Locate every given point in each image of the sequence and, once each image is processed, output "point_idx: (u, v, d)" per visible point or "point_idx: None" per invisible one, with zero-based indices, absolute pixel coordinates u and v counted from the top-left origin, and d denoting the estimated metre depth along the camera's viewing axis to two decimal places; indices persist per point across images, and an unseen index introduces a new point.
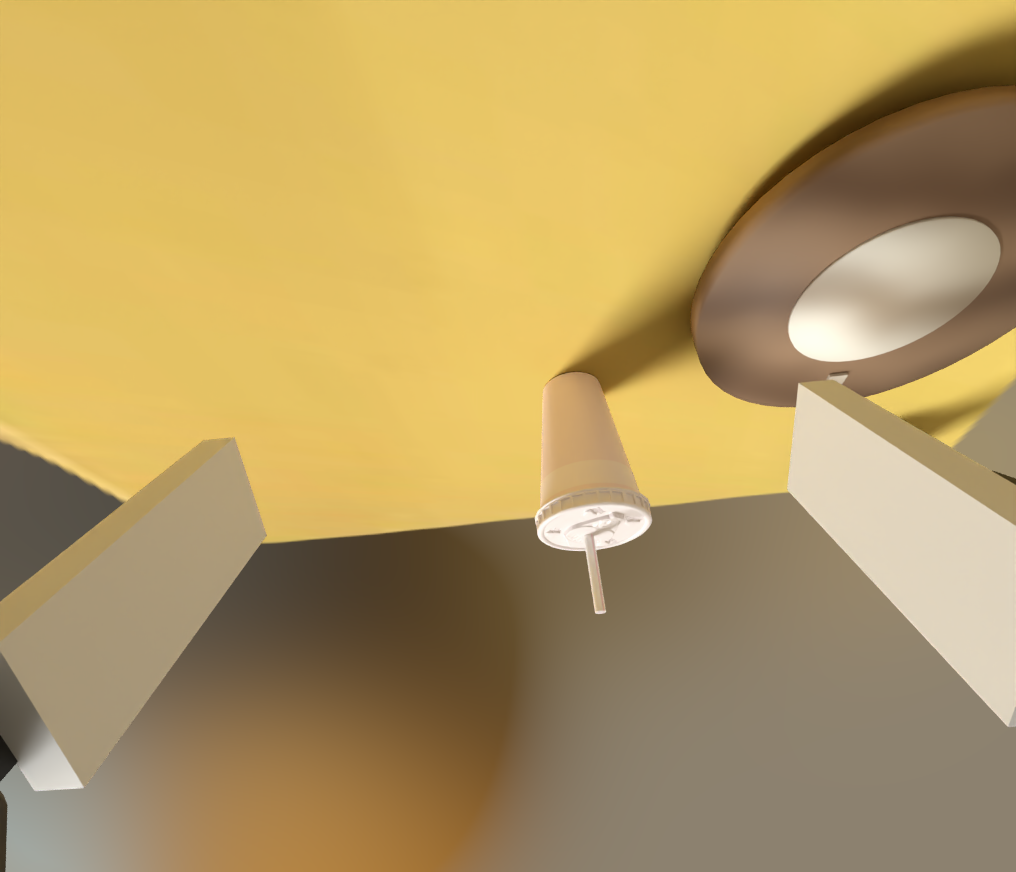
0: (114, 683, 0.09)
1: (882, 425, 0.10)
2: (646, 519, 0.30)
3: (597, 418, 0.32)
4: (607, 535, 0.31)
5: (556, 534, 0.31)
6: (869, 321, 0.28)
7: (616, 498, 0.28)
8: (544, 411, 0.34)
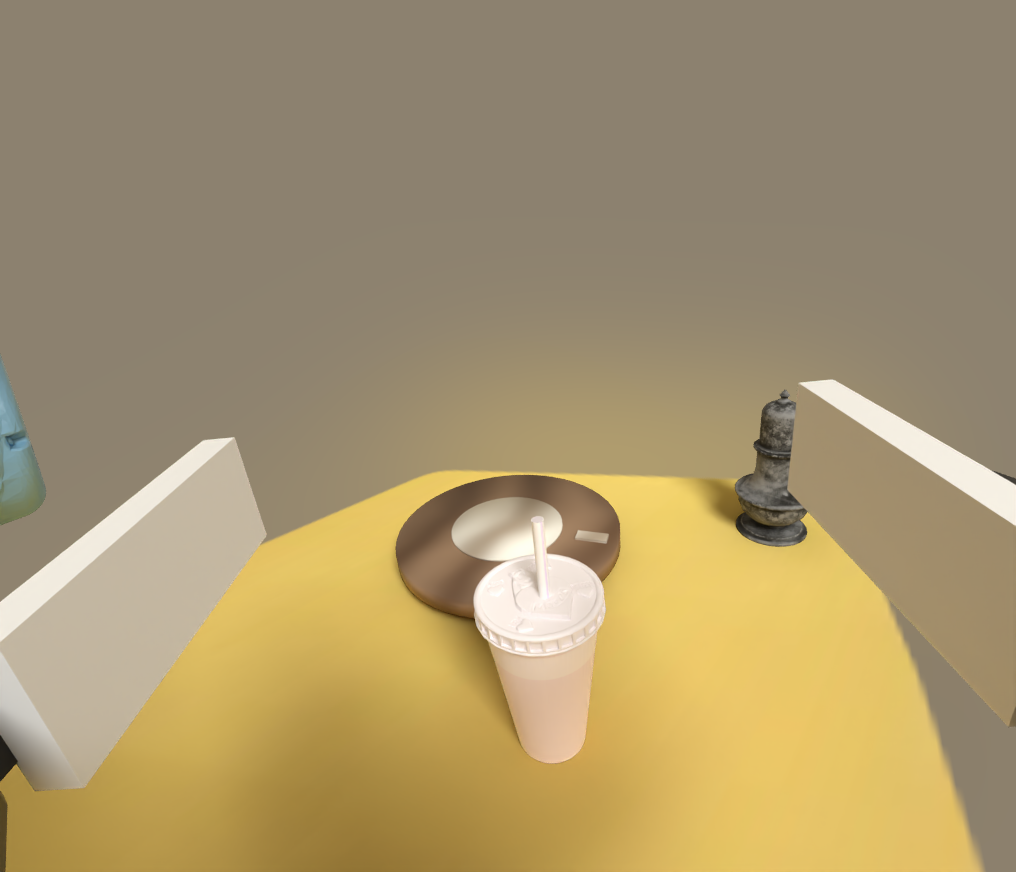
0: (114, 683, 0.09)
1: (882, 425, 0.10)
2: None
3: None
4: (554, 581, 0.27)
5: (525, 621, 0.25)
6: (521, 529, 0.44)
7: None
8: (524, 733, 0.29)
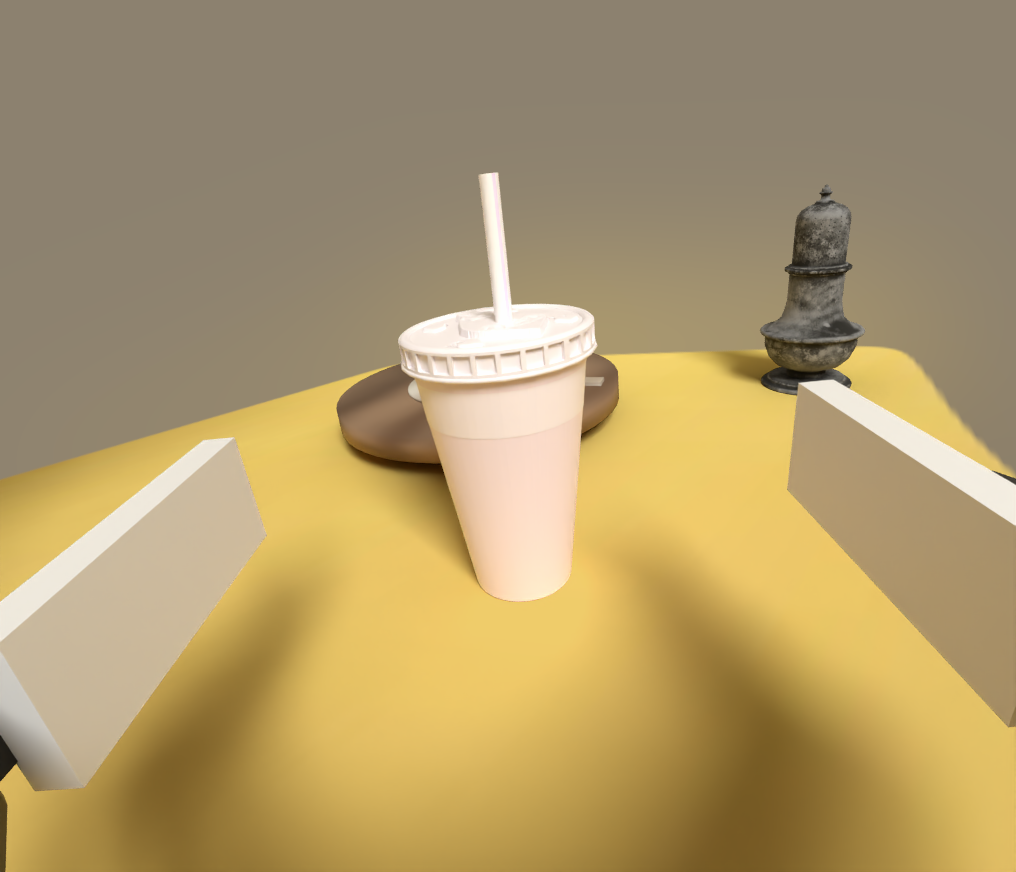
0: (114, 683, 0.09)
1: (882, 425, 0.10)
2: None
3: None
4: (520, 313, 0.18)
5: (471, 339, 0.16)
6: None
7: None
8: (480, 554, 0.20)
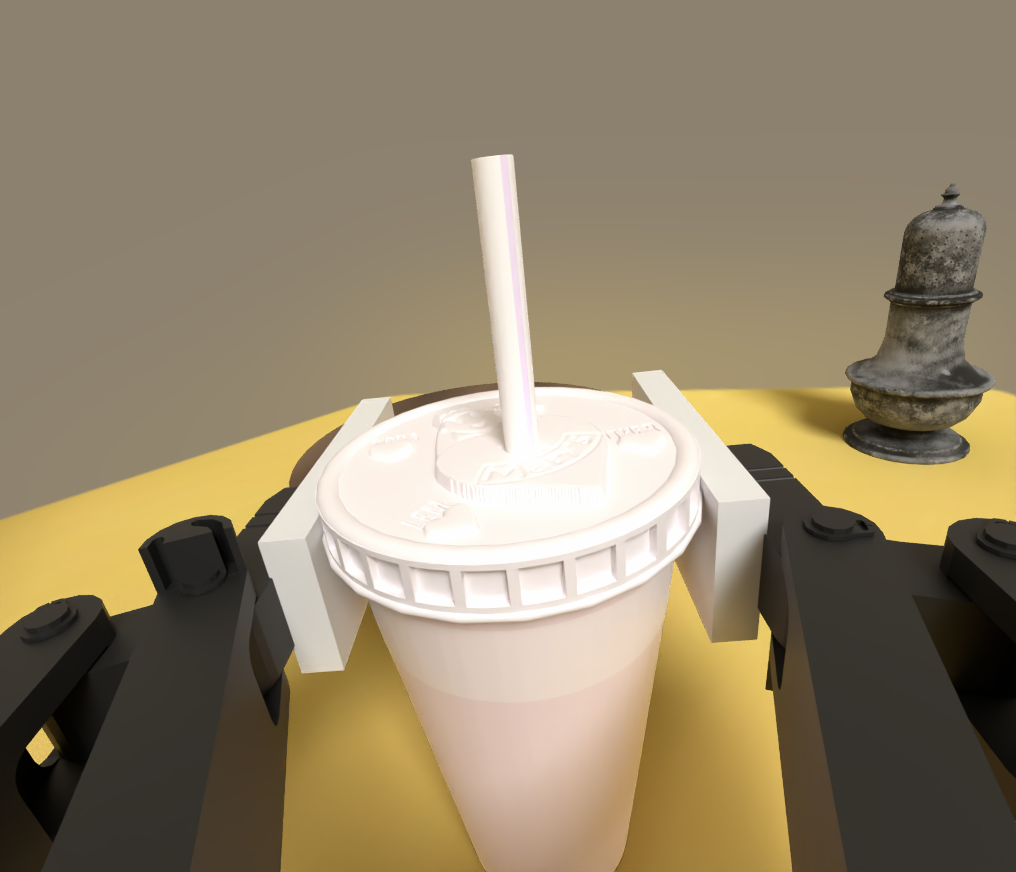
0: (351, 589, 0.10)
1: (669, 406, 0.12)
2: None
3: None
4: (551, 422, 0.10)
5: (456, 510, 0.08)
6: None
7: None
8: (475, 834, 0.11)
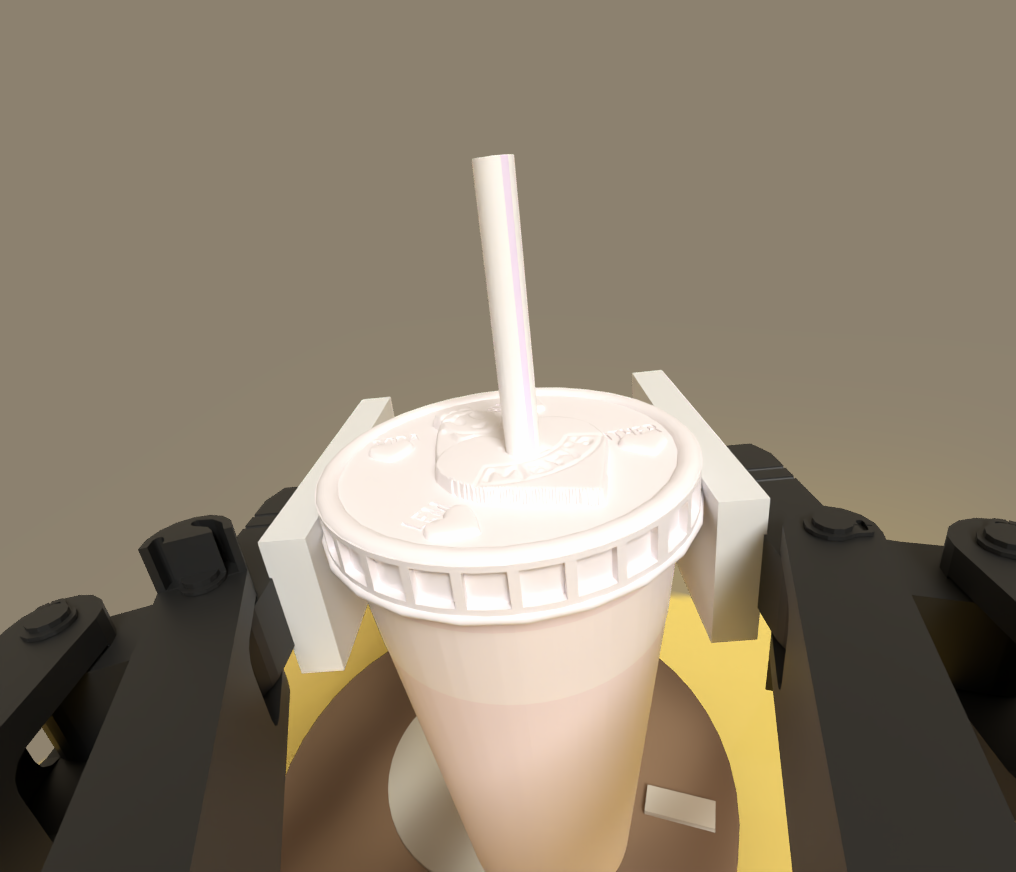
0: None
1: (669, 406, 0.12)
2: None
3: None
4: (551, 423, 0.10)
5: (457, 511, 0.08)
6: None
7: None
8: (476, 836, 0.11)
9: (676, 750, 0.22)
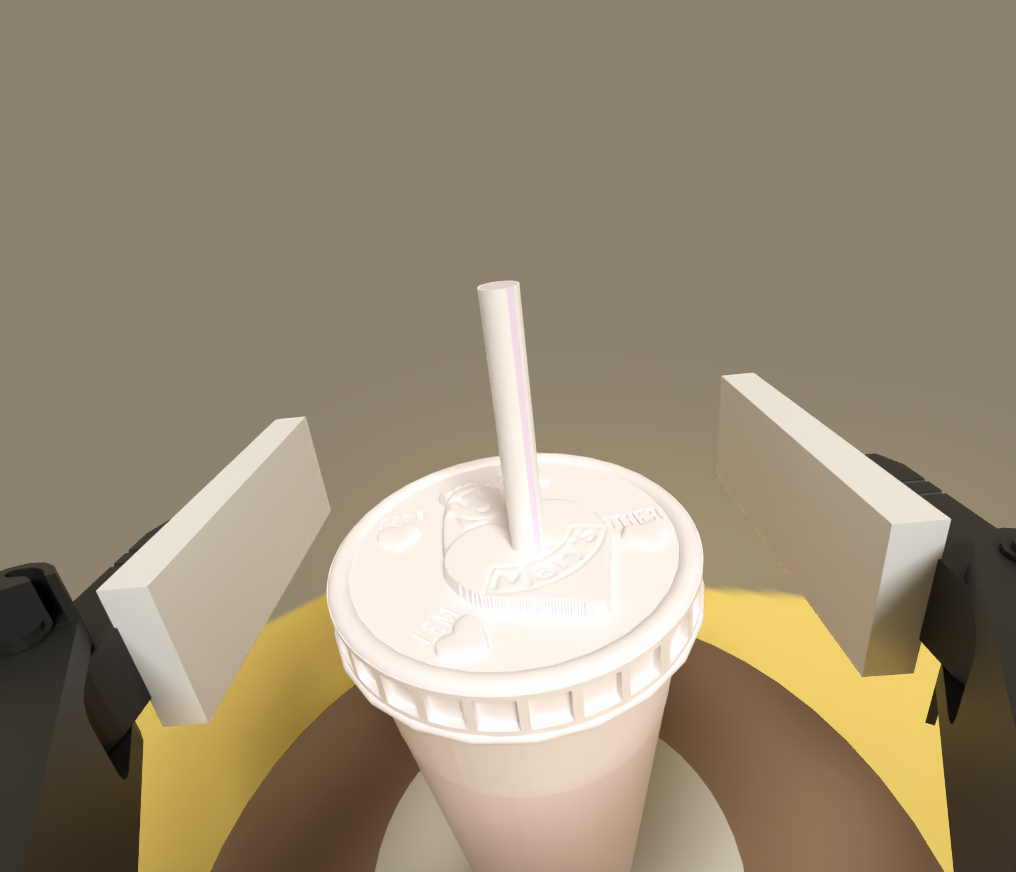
0: (226, 632, 0.10)
1: (781, 413, 0.11)
2: None
3: None
4: (556, 509, 0.10)
5: (466, 624, 0.08)
6: None
7: None
8: None
9: (847, 848, 0.13)
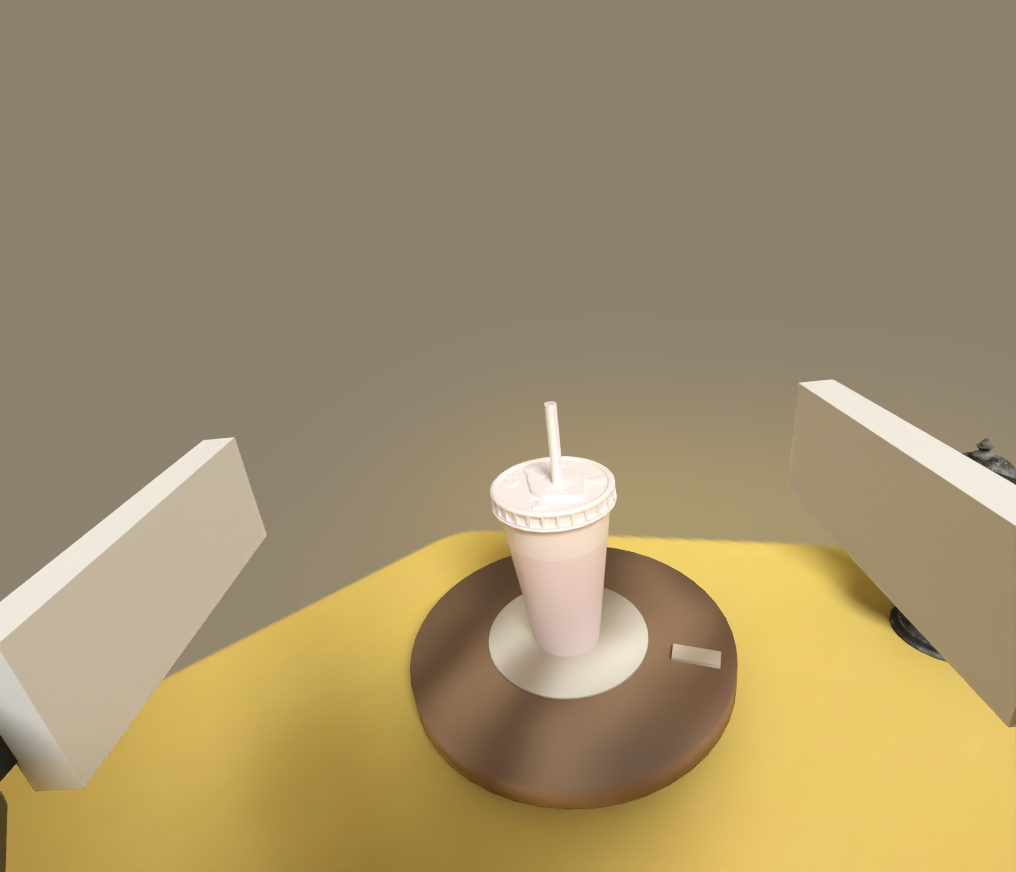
0: (114, 683, 0.09)
1: (882, 425, 0.10)
2: None
3: None
4: (567, 473, 0.28)
5: (540, 502, 0.26)
6: None
7: None
8: (540, 625, 0.30)
9: (694, 625, 0.31)
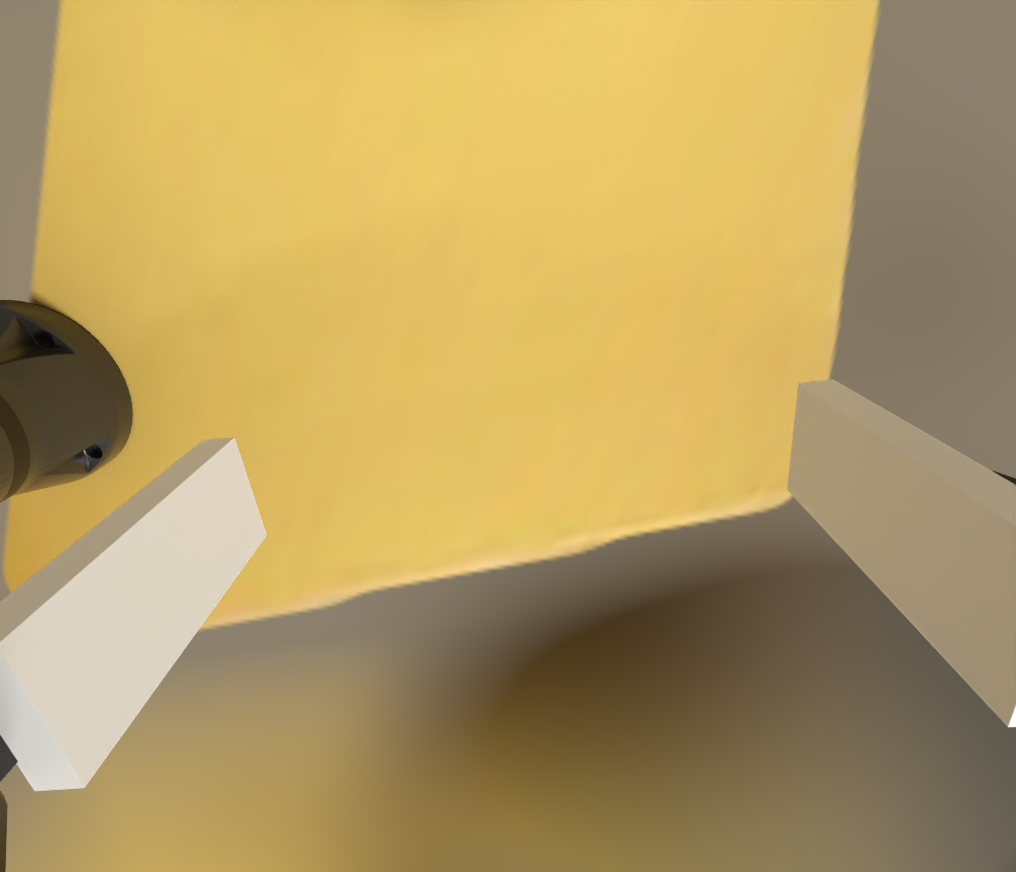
0: (114, 683, 0.09)
1: (882, 425, 0.10)
2: None
3: None
4: None
5: None
6: None
7: None
8: None
9: None
